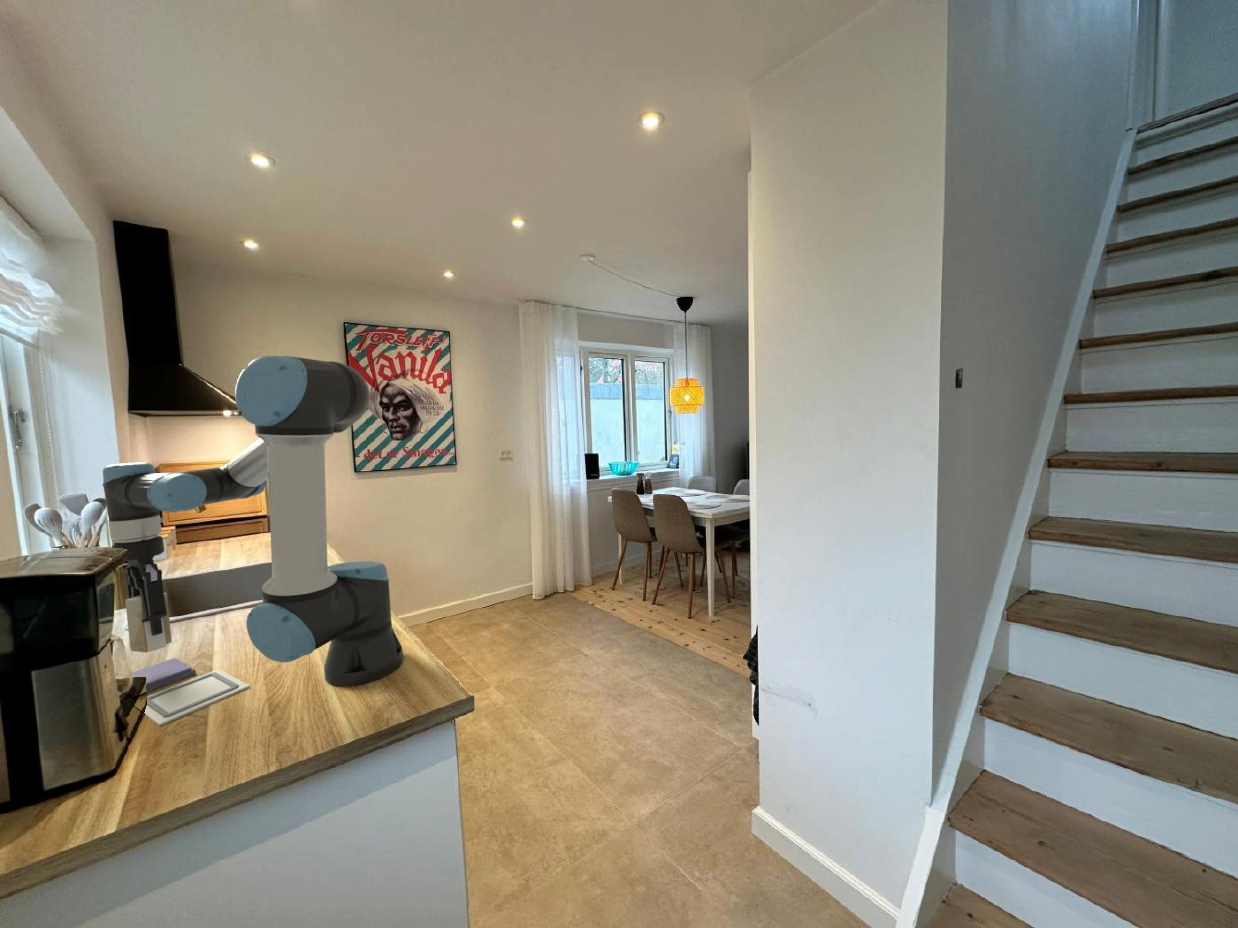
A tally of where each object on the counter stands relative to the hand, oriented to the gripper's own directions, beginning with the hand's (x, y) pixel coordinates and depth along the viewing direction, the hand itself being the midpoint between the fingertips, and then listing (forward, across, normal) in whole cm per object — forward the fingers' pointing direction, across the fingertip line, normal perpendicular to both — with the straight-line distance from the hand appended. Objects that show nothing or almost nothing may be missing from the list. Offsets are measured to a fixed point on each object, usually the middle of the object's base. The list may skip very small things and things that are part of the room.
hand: (151, 645), depth 103 cm
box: (+1, 0, 0) cm, 1 cm away
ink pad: (+8, 0, 0) cm, 8 cm away
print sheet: (+8, -15, -1) cm, 17 cm away
